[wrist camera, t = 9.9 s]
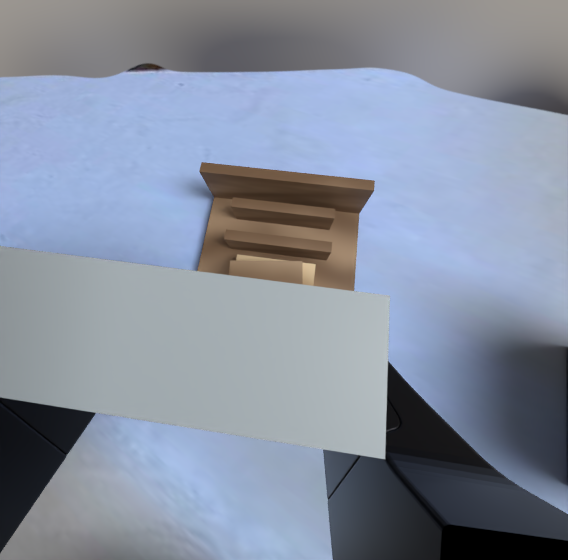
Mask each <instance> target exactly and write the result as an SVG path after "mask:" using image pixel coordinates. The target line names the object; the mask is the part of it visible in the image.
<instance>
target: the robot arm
mask: <svg viewBox="0 0 568 560" xmlns="http://www.w3.org/2000/svg"><path fill="white" fill-rule="evenodd" d="M95 414H96V413H94V412H88V411H82V410H76V409H69V408H63V407H57V406H51V405H45V404H38V403H32V402H26V401H20V400H14V399H7V398H1V397H0V553H1V551H2V550H3V548H4V547H5V545H6V544H7V542H8V541H9V540H10V538H11V537H12V535H13V534H14V532H15V531H16V529H17V528H18V526H19V525H20V523H21V522H22V521H23V519H24V518H25V516H26V515H27V513H28V512H29V510H30V509H31V507H32V506H33V504H34V503H35V502H36V500H37V499H38V497H39V496H40V494H41V493H42V491H43V490H44V488H45V487H46V486H47V484H48V483H49V481H50V480H51V478H52V477H53V475H54V474H55V472H56V471H57V469H58V468H59V467H60V465H61V464H62V462H63V461H64V459H65V458H66V456H67V454H68V453H69V452H70V450H71V449H72V447H73V446H74V444H75V443H76V441H77V440H78V439H79V437H80V436H81V434H82V433H83V431H84V430H85V428H86V427H87V425H88V424H89V423H90V421H91V420H92V418H93V417H94V415H95ZM323 453H324V464H325V475H326V487H327V498H328V511H329V522H330V533H331V545H332V556H333V560H568V514H566V513H565V512H563V511H561V510H559V509H558V508H556V507H554V506H552V505H551V504H549V503H547V502H545V501H544V500H542V499H540V498H538V497H537V496H535V495H533V494H531V493H530V492H528V491H526V490H525V489H523V488H521V487H520V486H518V485H517V484H515V483H514V482H512V481H511V480H509V479H508V478H506V477H505V476H504V475H502V474H501V473H500V472H498V471H497V470H496V469H495V468H494V467H492V466H491V465H490V464H489V463H488V462H486V461H485V460H484V459H483V458H482V457H481V456H480V455H479V454H478V453H477V452H476V451H475V450H474V449H473V448H472V447H471V446H470V445H469V444H468V443H467V442H466V441H465V440H464V439H463V438H462V437H461V436H460V435H459V434H458V433H457V432H456V431H455V430H454V429H453V428H452V427H451V426H450V425H449V424H448V423H447V422H445V421H444V420H443V419H442V418H441V417H440V416H439V415H438V414H437V413H436V412H435V411H434V410H433V409H432V408H431V407H430V406H429V405H428V404H427V403H426V402H425V401H424V399H423V398H422V397H421V396H420V395H419V394H418V393H417V392H416V391H415V390H414V389H413V388H412V387H411V386H410V385H409V384H408V383H407V382H406V381H405V380H404V378H403V377H402V376H401V375H400V374H399V373H398V372H397V371H396V369H395V368H394V367H393V366H392V365H391V364H390V363H389V361H388V376H387V412H386V447H385V459H380V458H374V457H368V456H361V455H355V454H349V453H343V452H337V451H330V450H324V449H323Z"/></svg>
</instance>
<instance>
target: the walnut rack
mask: <svg viewBox="0 0 568 560" xmlns="http://www.w3.org/2000/svg"><path fill="white" fill-rule="evenodd" d="M199 172H200V173H201V175H202V177H203V179H204V180H205V182H206V184H207V186H208V187H209V189H210V191H211V193H212V194H213V196H214V200H213V205H212V209H211V213H210V218H209V222H208V226H207V231H206V235H205V240H204V244H203V248H202V253H201V257H200V261H199V266H198V270H197V271H200V272H208V273H215V274H223V275H229V270H230V261H236V258H237V254H238V255H246V256H254V257H262V258H270V259H278V260H286V261H302V263H310V264H316V266H315V275H314V284H313V286H317V287H325V288H333V289H341V290H349V291H354V283H355V268H356V253H357V238H358V223H359V213H360V212H361V210H362V208H363V207H364V205H365V204H366V202H367V201H368V199H369V198H370V196H371V194H372V193H373V191H374V182H375V181H372V180H363V179H354V178H344V177H335V176H325V175H316V174H307V173H297V172H288V171H278V170H269V169H260V168H250V167H241V166H232V165H222V164H213V163H203V162H202V163H201V167H200V171H199Z"/></svg>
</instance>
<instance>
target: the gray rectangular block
mask: <svg viewBox="0 0 568 560" xmlns="http://www.w3.org/2000/svg"><path fill="white" fill-rule="evenodd" d="M389 305H390V296H388V295H380V294H372V293H364V292H357V291H349V290H341V289H333V288H325V287H317V286H310V285H302V284H294V283H286V282H278V281H270V280H263V279H255V278H247V277H239V276H231V275H223V274H215V273H208V272H200V271H192V270H184V269H176V268H168V267H161V266H153V265H145V264H137V263H129V262H121V261H114V260H106V259H98V258H90V257H82V256H74V255H67V254H59V253H51V252H43V251H35V250H27V249H19V248H12V247H4V246H0V397H1V398H7V399H14V400H20V401H26V402H32V403H38V404H45V405H51V406H57V407H63V408H69V409H76V410H82V411H88V412H94V413H101V414H107V415H113V416H119V417H125V418H132V419H138V420H144V421H150V422H156V423H163V424H169V425H175V426H181V427H187V428H194V429H200V430H206V431H212V432H219V433H225V434H231V435H237V436H243V437H250V438H256V439H262V440H268V441H274V442H281V443H287V444H293V445H299V446H306V447H312V448H318V449H324V450H330V451H337V452H343V453H349V454H355V455H361V456H368V457H374V458H380V459H385V447H386V412H387V376H388V340H389Z"/></svg>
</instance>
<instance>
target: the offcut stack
mask: <svg viewBox="0 0 568 560" xmlns="http://www.w3.org/2000/svg"><path fill="white" fill-rule="evenodd" d="M315 266H316V264H310V263H302V261H286V260H278V259H270V258H262V257H254V256H246V255H238V254H237V258H236V261H230V270H229V275H231V276H239V277H247V278H255V279H263V280H270V281H278V282H286V283H294V284H302V285H310V286H313V284H314V275H315Z"/></svg>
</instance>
